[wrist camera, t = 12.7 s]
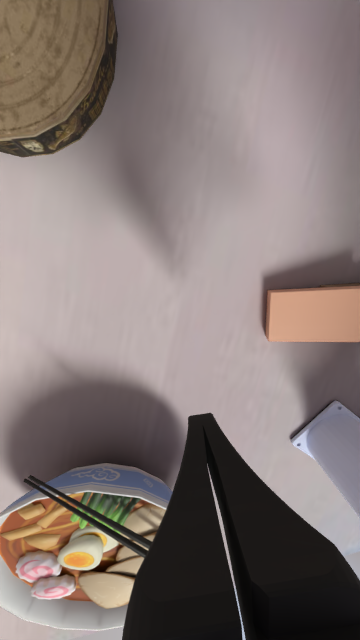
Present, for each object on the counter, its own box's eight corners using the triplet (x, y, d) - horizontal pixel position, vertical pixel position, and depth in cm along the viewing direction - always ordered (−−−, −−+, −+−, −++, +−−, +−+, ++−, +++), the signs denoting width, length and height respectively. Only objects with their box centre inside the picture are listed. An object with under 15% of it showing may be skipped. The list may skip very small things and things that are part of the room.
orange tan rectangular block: (267, 290, 20) (373, 285, 18) (265, 335, 21) (363, 335, 19) (270, 292, 18) (386, 287, 16) (268, 341, 20) (374, 342, 18)
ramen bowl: (-20, 487, 25) (-106, 590, 17) (104, 381, 22) (67, 447, 14) (122, 565, 31) (106, 667, 23) (234, 491, 28) (260, 580, 20)
